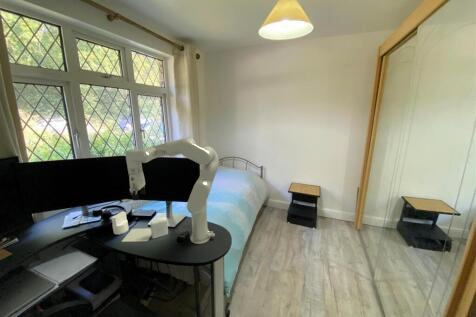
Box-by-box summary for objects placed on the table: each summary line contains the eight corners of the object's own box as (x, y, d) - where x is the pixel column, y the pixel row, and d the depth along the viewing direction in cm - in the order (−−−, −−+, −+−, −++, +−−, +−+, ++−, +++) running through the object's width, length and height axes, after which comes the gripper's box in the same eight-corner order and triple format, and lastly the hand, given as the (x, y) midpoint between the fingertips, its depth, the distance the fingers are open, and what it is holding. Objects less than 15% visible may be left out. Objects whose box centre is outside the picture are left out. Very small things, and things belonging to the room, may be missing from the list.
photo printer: (167, 231, 135) (165, 214, 132) (169, 234, 132) (167, 217, 129) (151, 236, 130) (149, 219, 127) (152, 239, 126) (150, 222, 123)
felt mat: (155, 228, 138) (155, 228, 138) (147, 241, 125) (147, 240, 125) (132, 229, 138) (132, 228, 138) (121, 242, 124) (121, 241, 124)
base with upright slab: (121, 225, 142) (119, 210, 139) (131, 227, 140) (129, 212, 137) (110, 233, 134) (107, 217, 131) (121, 235, 131) (118, 218, 128)
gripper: (135, 174, 109) (139, 202, 113) (147, 166, 126) (151, 191, 130) (121, 174, 109) (126, 203, 113) (135, 166, 126) (139, 191, 130)
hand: (139, 196), depth 121 cm, fingers open, 9 cm apart
